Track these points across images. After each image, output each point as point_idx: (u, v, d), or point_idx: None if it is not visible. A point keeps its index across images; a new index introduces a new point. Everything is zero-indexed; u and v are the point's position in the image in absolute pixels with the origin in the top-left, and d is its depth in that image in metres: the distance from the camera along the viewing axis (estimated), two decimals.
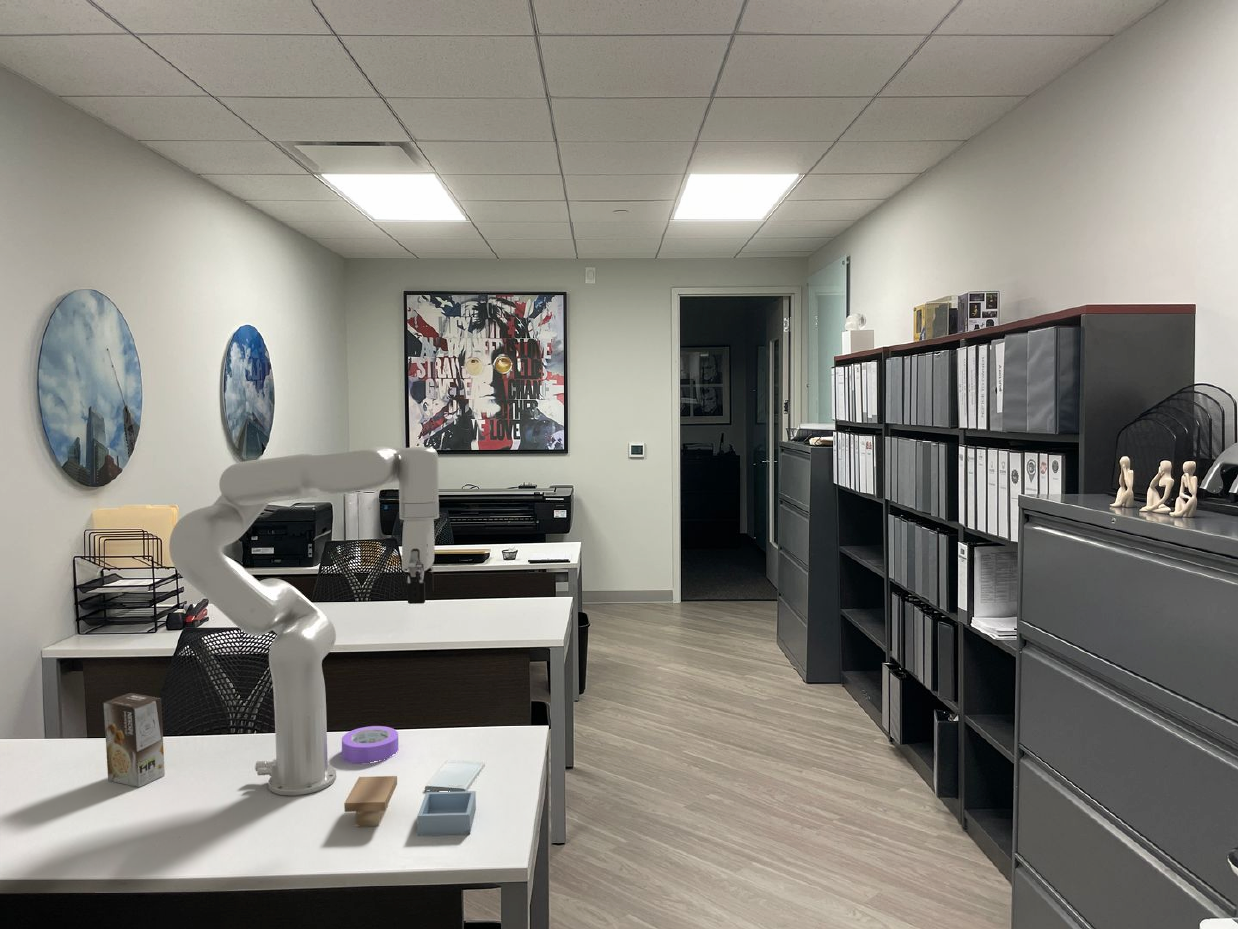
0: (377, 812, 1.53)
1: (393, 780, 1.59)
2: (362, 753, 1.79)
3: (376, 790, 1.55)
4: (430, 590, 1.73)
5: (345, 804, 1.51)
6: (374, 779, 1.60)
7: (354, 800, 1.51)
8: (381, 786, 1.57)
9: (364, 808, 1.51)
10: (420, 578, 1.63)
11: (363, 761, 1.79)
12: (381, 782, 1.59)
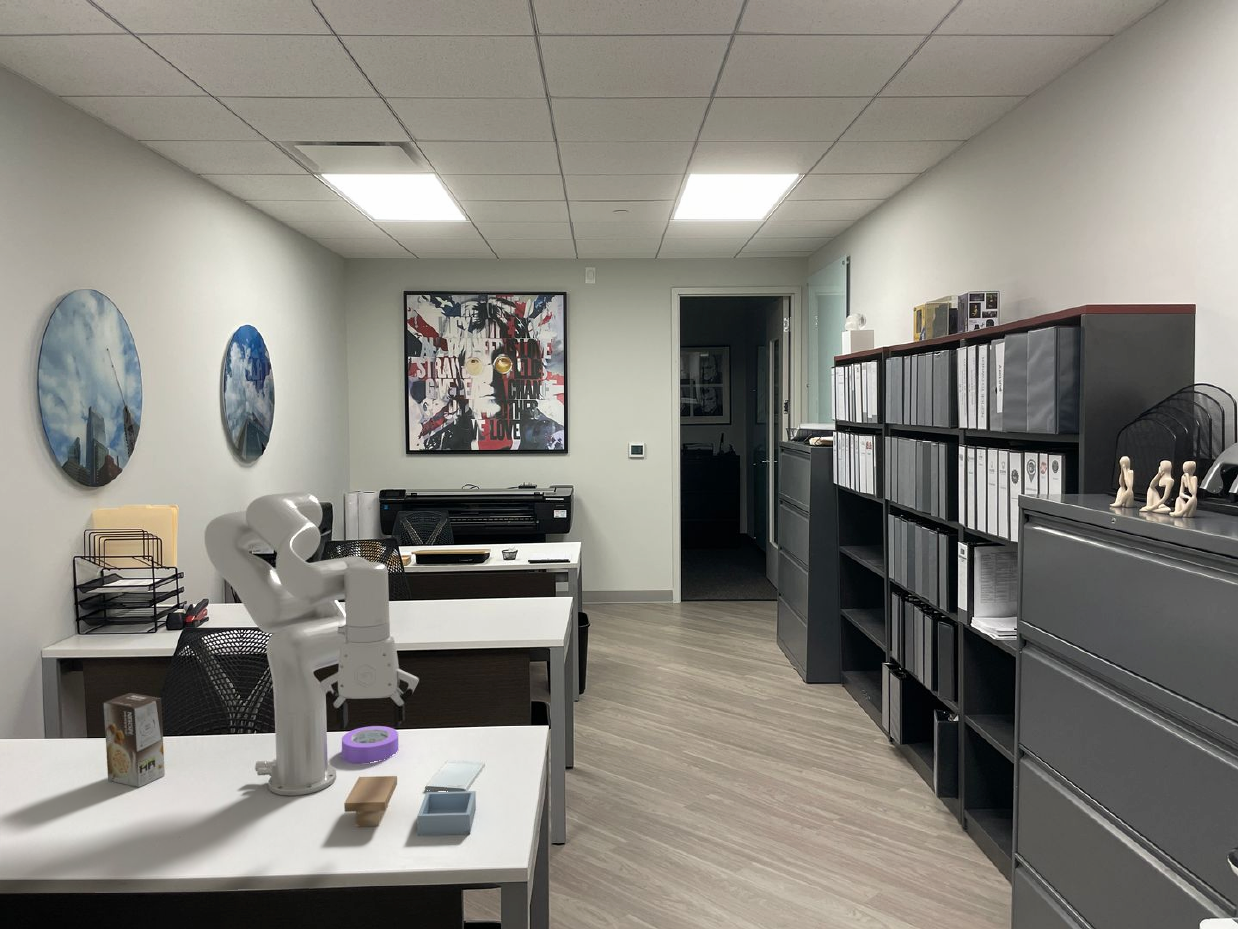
0: (377, 812, 1.53)
1: (393, 780, 1.59)
2: (362, 753, 1.79)
3: (376, 790, 1.55)
4: (347, 722, 1.56)
5: (345, 804, 1.51)
6: (374, 779, 1.60)
7: (354, 800, 1.51)
8: (381, 786, 1.57)
9: (364, 808, 1.51)
10: None
11: (363, 761, 1.79)
12: (381, 782, 1.59)
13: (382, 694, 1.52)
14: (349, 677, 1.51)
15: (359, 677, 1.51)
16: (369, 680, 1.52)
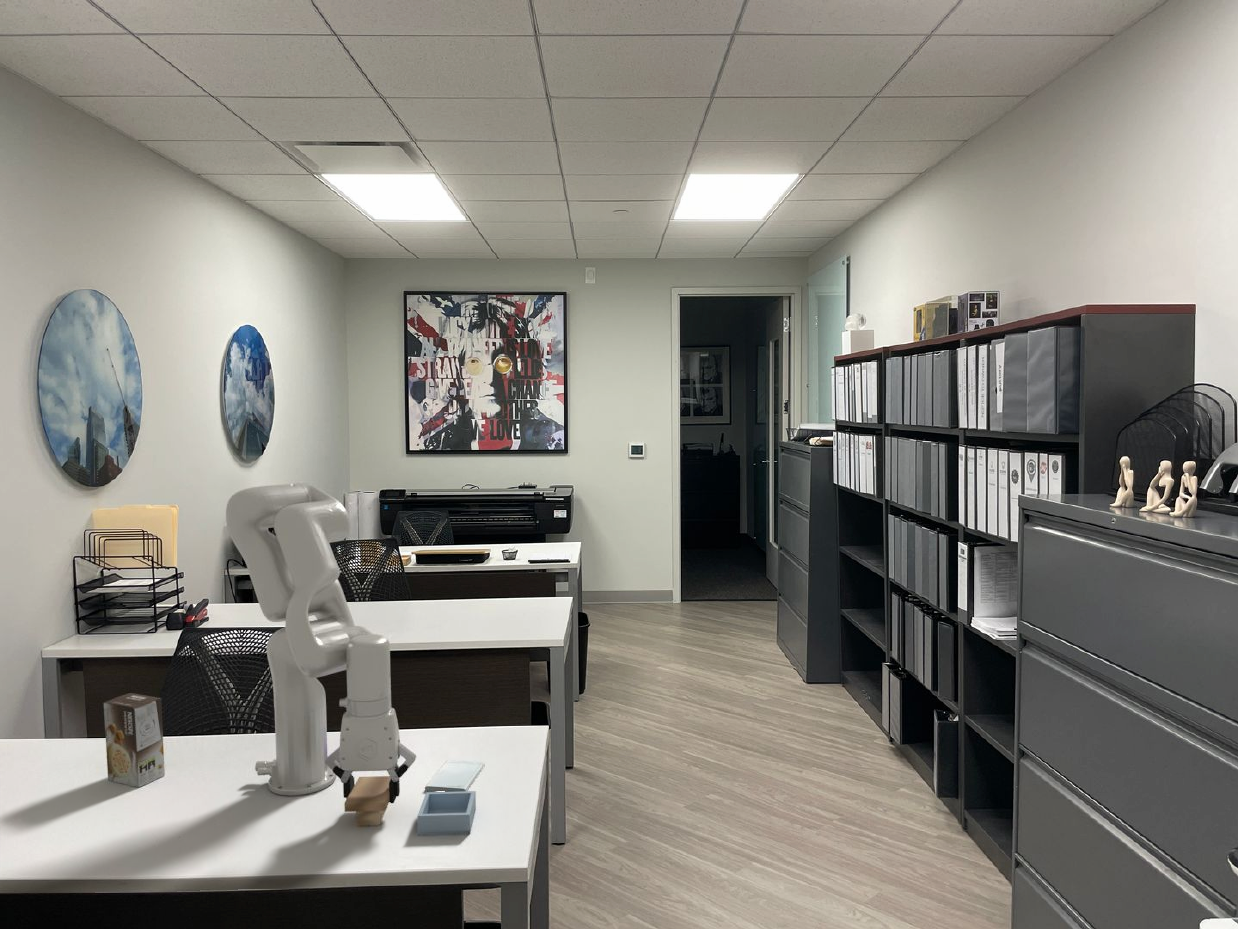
0: (377, 812, 1.53)
1: None
2: None
3: (376, 790, 1.55)
4: None
5: (345, 804, 1.51)
6: (374, 779, 1.60)
7: (354, 800, 1.51)
8: (381, 786, 1.57)
9: (364, 808, 1.51)
10: None
11: None
12: (382, 781, 1.59)
13: (383, 767, 1.53)
14: (350, 750, 1.52)
15: (360, 750, 1.52)
16: (370, 753, 1.53)
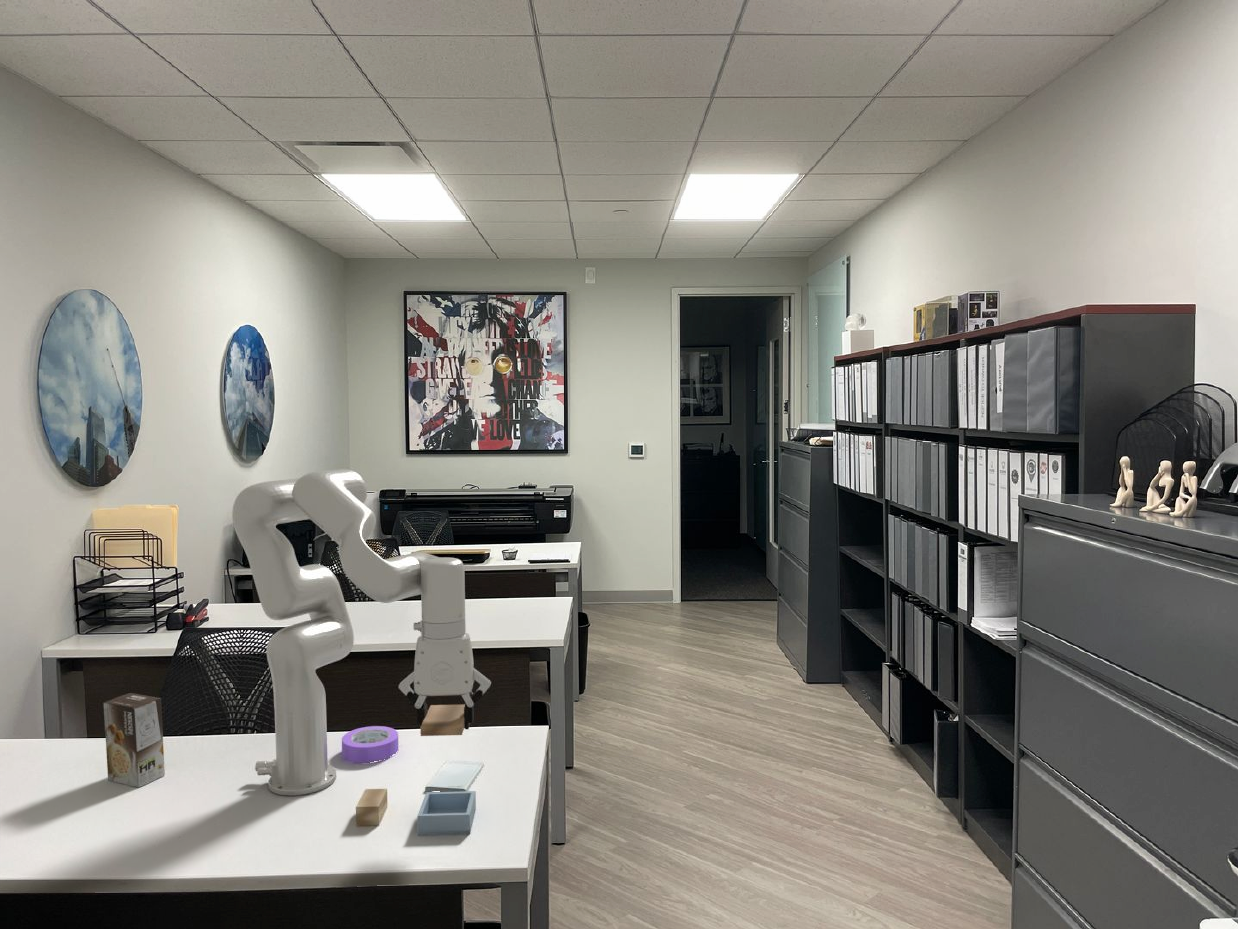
0: (377, 812, 1.53)
1: None
2: (362, 753, 1.79)
3: (451, 716, 1.52)
4: None
5: (421, 728, 1.47)
6: (446, 707, 1.57)
7: (429, 725, 1.48)
8: (454, 712, 1.54)
9: (440, 732, 1.47)
10: None
11: (363, 761, 1.79)
12: (454, 709, 1.55)
13: (459, 691, 1.50)
14: (425, 674, 1.49)
15: (436, 674, 1.49)
16: (446, 677, 1.49)
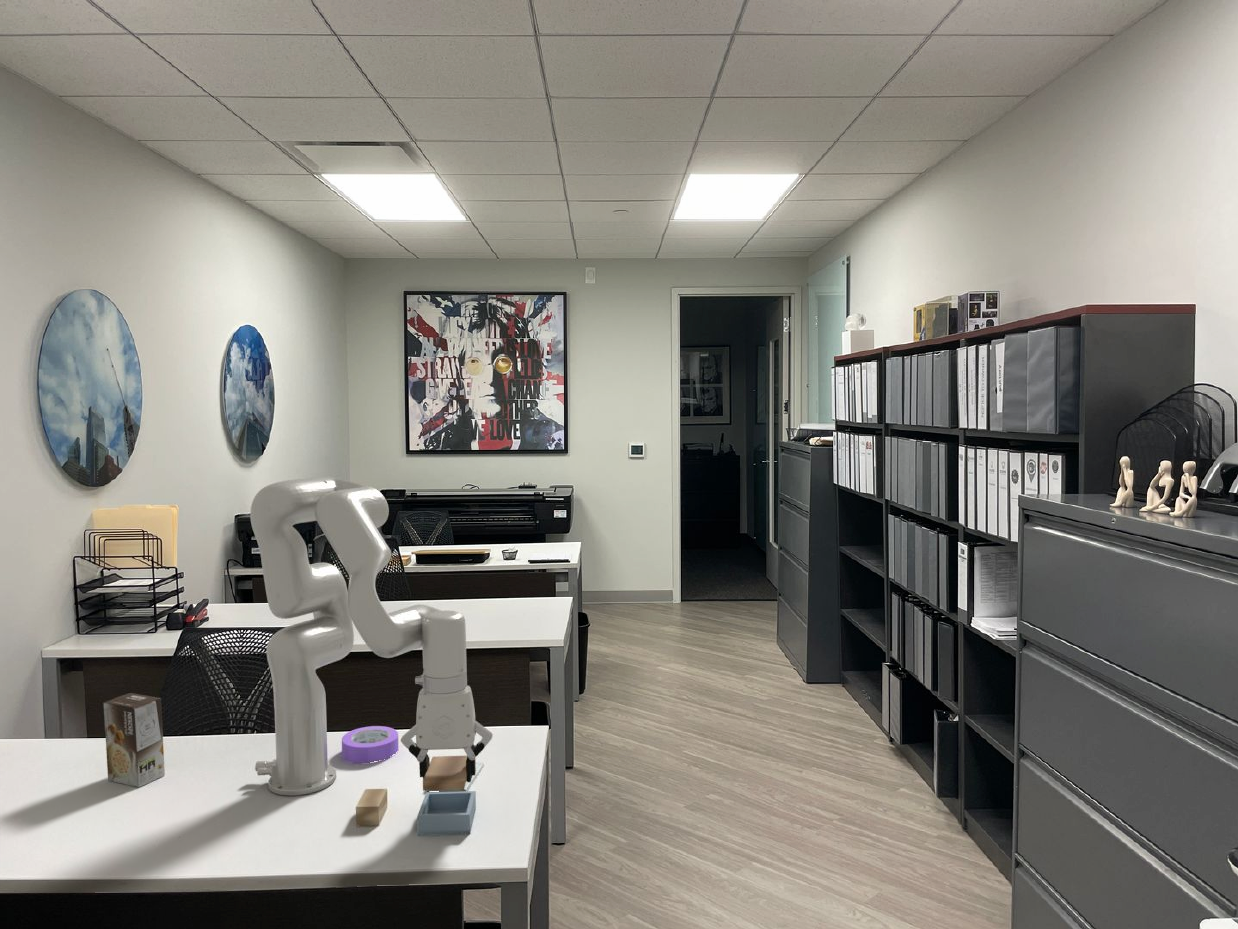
0: (377, 812, 1.53)
1: None
2: (362, 753, 1.79)
3: (453, 769, 1.53)
4: None
5: (423, 783, 1.48)
6: (448, 758, 1.57)
7: (432, 779, 1.49)
8: (456, 765, 1.54)
9: (443, 787, 1.48)
10: None
11: (363, 761, 1.79)
12: (456, 761, 1.56)
13: (460, 745, 1.50)
14: (427, 728, 1.50)
15: (437, 728, 1.50)
16: (447, 731, 1.50)
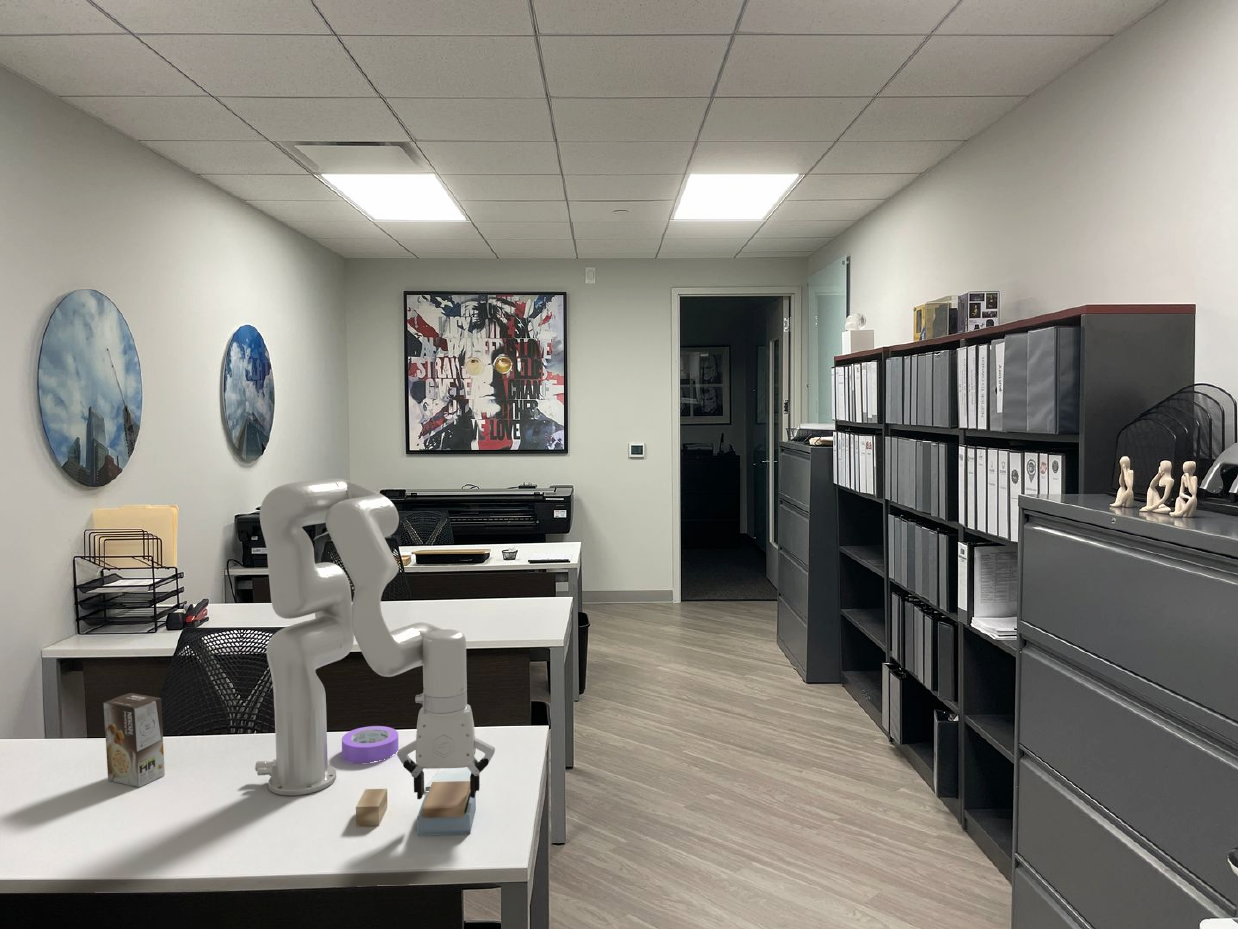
0: (377, 812, 1.53)
1: (467, 785, 1.57)
2: (362, 753, 1.79)
3: (452, 796, 1.53)
4: (423, 791, 1.55)
5: (423, 810, 1.48)
6: (448, 784, 1.58)
7: (431, 806, 1.49)
8: (456, 791, 1.55)
9: (442, 814, 1.49)
10: None
11: (363, 761, 1.79)
12: (456, 787, 1.57)
13: (460, 764, 1.51)
14: (427, 747, 1.50)
15: (437, 747, 1.50)
16: (447, 750, 1.50)
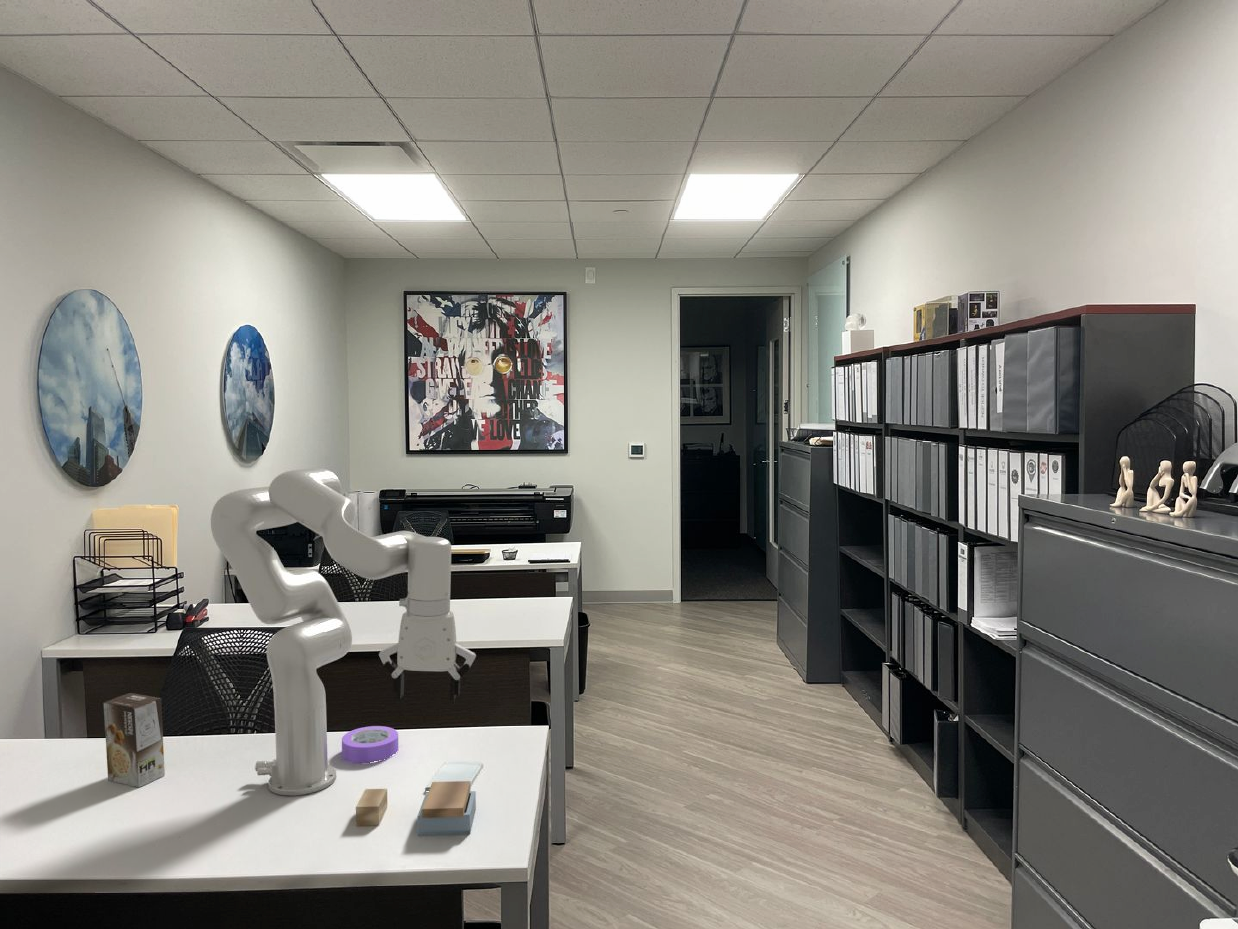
0: (377, 812, 1.53)
1: (467, 785, 1.57)
2: (362, 753, 1.79)
3: (452, 796, 1.53)
4: (403, 693, 1.58)
5: (423, 810, 1.48)
6: (448, 784, 1.58)
7: (431, 806, 1.49)
8: (456, 791, 1.55)
9: (442, 814, 1.49)
10: None
11: (363, 761, 1.79)
12: (456, 787, 1.57)
13: (440, 668, 1.54)
14: (409, 649, 1.53)
15: (418, 650, 1.53)
16: (428, 653, 1.53)
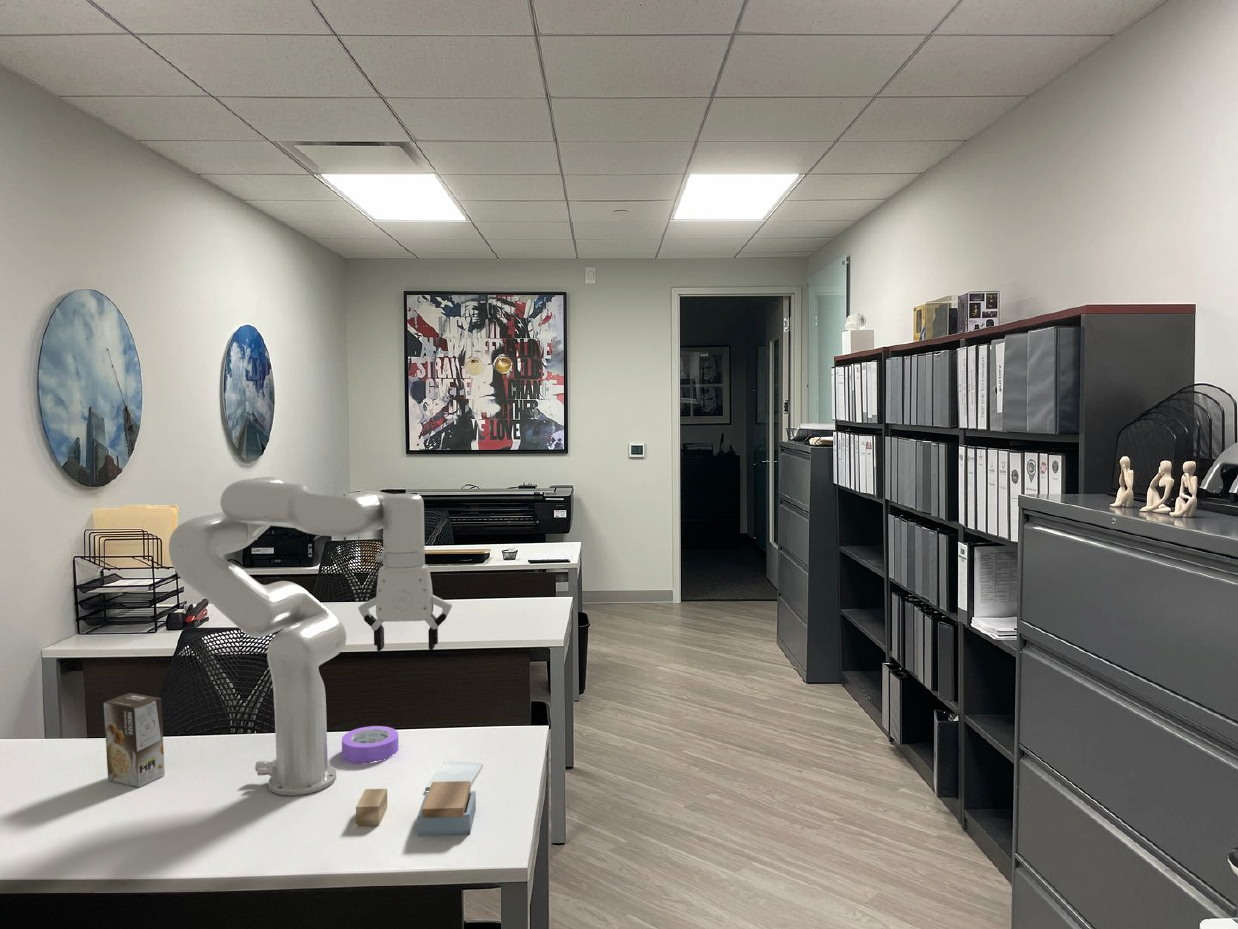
0: (377, 812, 1.53)
1: (467, 785, 1.57)
2: (362, 753, 1.79)
3: (452, 796, 1.53)
4: (383, 645, 1.64)
5: (423, 810, 1.48)
6: (448, 784, 1.58)
7: (431, 806, 1.49)
8: (456, 791, 1.55)
9: (442, 814, 1.49)
10: None
11: (363, 761, 1.79)
12: (456, 787, 1.57)
13: (418, 617, 1.60)
14: (387, 601, 1.60)
15: (396, 601, 1.60)
16: (405, 604, 1.60)
